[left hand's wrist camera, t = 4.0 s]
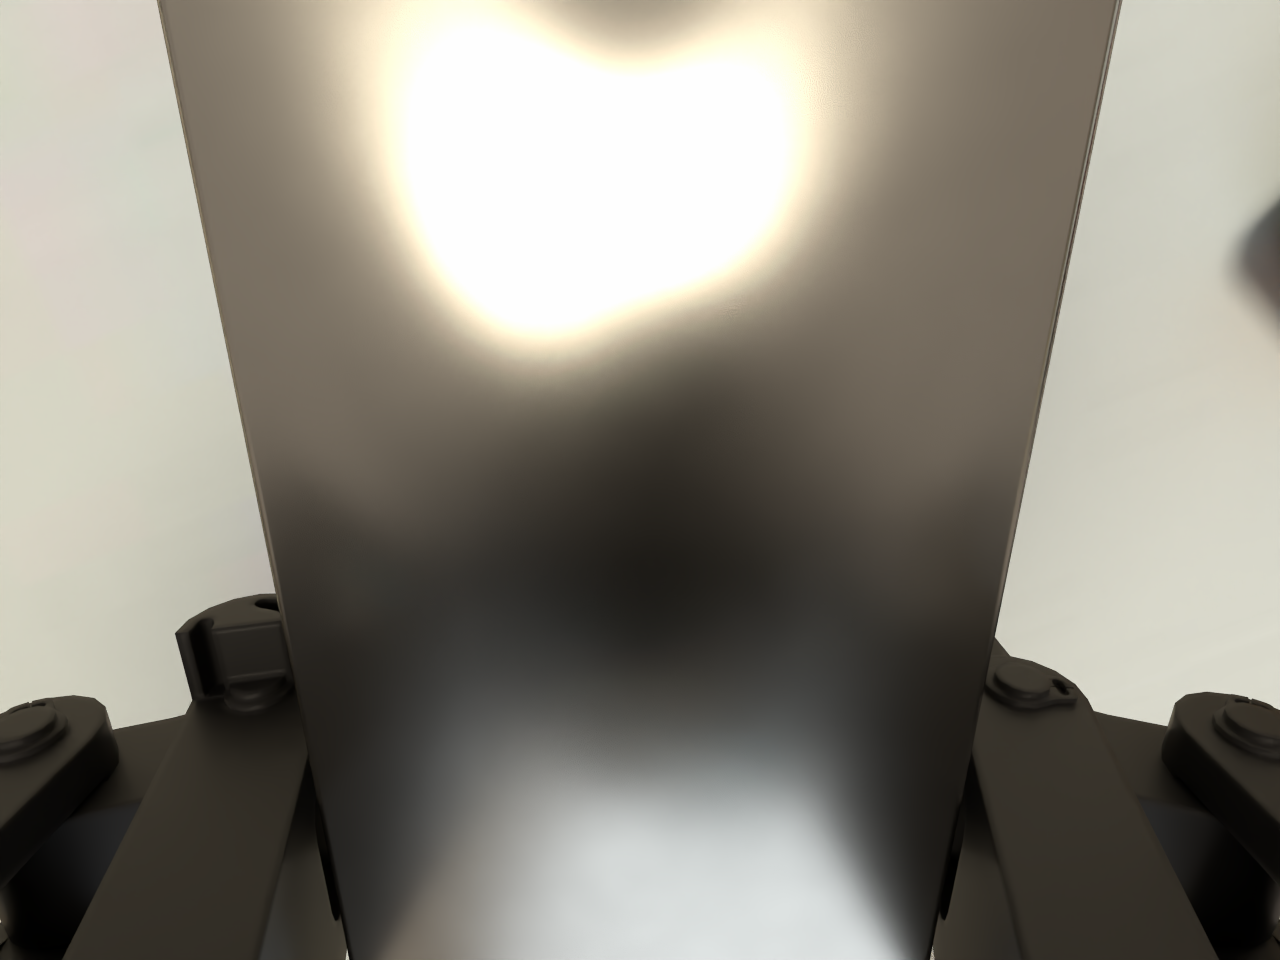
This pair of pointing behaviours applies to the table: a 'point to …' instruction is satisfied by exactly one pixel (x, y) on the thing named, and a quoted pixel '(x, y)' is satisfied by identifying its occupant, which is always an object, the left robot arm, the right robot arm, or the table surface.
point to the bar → (639, 440)
